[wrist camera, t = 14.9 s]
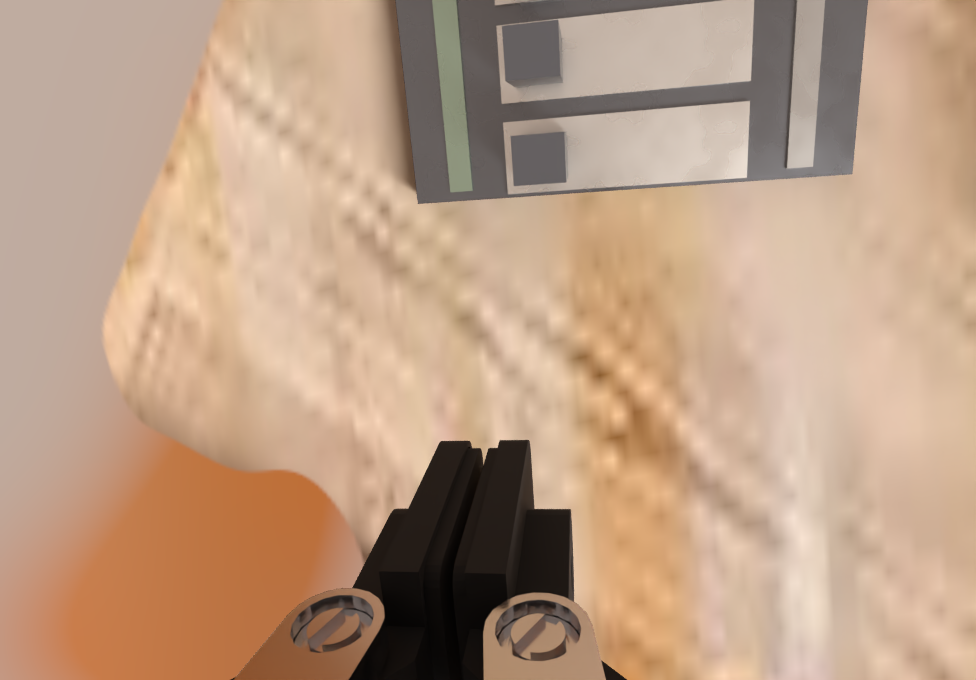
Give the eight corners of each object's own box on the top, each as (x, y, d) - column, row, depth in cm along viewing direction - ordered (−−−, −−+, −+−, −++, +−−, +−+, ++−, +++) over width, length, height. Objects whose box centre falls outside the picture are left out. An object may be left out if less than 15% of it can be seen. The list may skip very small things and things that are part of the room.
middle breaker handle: (563, 82, 31) (560, 75, 27) (514, 87, 32) (505, 81, 28) (561, 33, 30) (558, 19, 27) (511, 38, 31) (501, 25, 27)
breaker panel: (836, 171, 33) (854, 174, 31) (426, 200, 36) (416, 204, 34) (861, -121, 29) (883, -141, 27) (398, -57, 33) (385, -71, 30)
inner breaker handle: (568, 176, 32) (566, 182, 29) (521, 180, 33) (513, 186, 29) (566, 131, 32) (564, 131, 28) (518, 135, 32) (510, 136, 28)
